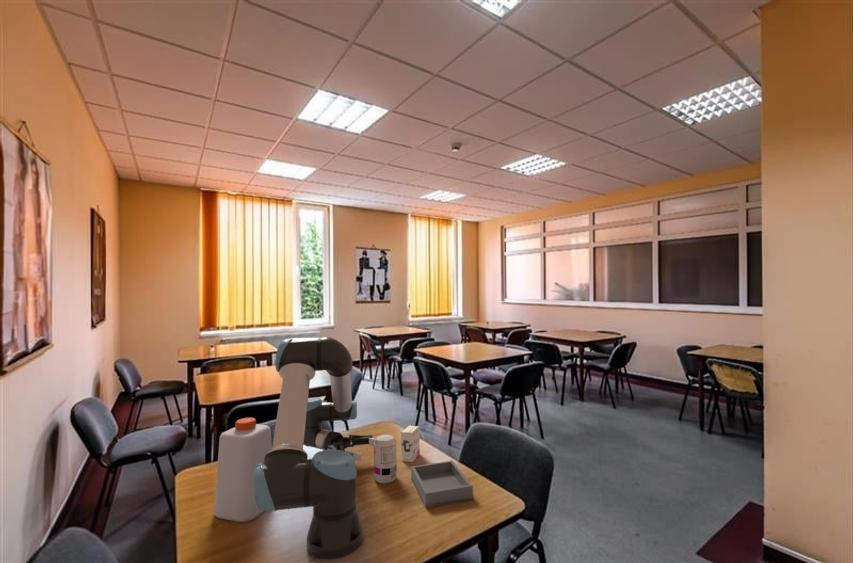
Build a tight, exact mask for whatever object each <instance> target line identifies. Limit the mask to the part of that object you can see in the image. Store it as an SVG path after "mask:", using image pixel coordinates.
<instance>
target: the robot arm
mask: <svg viewBox="0 0 853 563" xmlns="http://www.w3.org/2000/svg"><path fill="white" fill-rule="evenodd" d="M274 363H275V364H274V366H275V367H274V368H275V370H276V372H277V373H278V375H279V376H280V378H281V379H282V382H281V383H282V384H281V388H280V395H279V401H278V409H277V414H276V420H275V428H274V431H273V438H272V449H271V450H270V451H269V452H268V453H266V455H265V458H264V463H260V464H258V465H257V466H256V469H255V473H254V496H255V502H256V505H257V507H258V509H259V510H261V511H263V512H268V511H270V512H272V511H274V512H277V511H281V510H292V509H299V508H309V507H311V508H312V507H313V508H312V510H313V511H312V513H313V514H312V518H311V522H310V524H309V528H308V531H307V535H306V548H307V551H308V553H309V554H311V555H312V556H313V557H315V558H316V557H317V558H319V559H325V560H327V559H337V558H341V557H344V556H347V555H349V554H351V553H352V552H355V550H357V549H358V548H359V547H360V545H361V544H362V543H363V540H364V526H363V524H362V520H361V517H360V514H359V512H358V509H357V475H358V474H357V473H358V472H357V467H356V461H357V462H359V463H360V462H362V453H361V452H358V451H357V452H356V451H353V450H349V449H347V448H353V447H355V446H362V445H363V446H364V445H368V446H371V447H374V441H375V438H374V436H373V435H372V434H349V435H348V437H347V436H343V434H342V433H341V432H338V431H333V430H328V429H324V428H322V427H323V422H324V423H325V422H337V421H349V420H356V418H357V417H358V403H357V401H356V400H352V399H353V398H352V382H351V380H352V379H351V378H352V377H351V372H352V370H353V367H354V366H353V358H352V355H351V353H350V350H348V348H347V347H346V346H345V345H344V344H343V343H342V342H341V341H339V340H338V339H335V338H332V337H328V336H321V337H319V336H317V337H315V336H314V337H292V338H291V337H290V338H286V339H285V338H284V339H282V340H281V341H280V342H279V343H278V346H277V350H276V354H275V361H274ZM321 371H326V372H327V373H328V375H329V379H330V381H329V382H330V386H331V387H330V388H331V396H332V402H329V401H328V402H323V401H322V398H320V397H316V396H315V397H309V393H310V392H309V391H310V383H311V380H313V379H314V378H315V377H316V372H321ZM304 446H305V447H310V448H315V449H318V450H319V449H320V451H317V452H316V453H315V454H313V456H312V458H311V459H308V456H309V455H308V453H307V452H306V451H305V449H304ZM346 449H347V450H346Z"/></svg>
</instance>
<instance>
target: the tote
mask: <svg viewBox="0 0 853 563" xmlns="http://www.w3.org/2000/svg"><path fill="white" fill-rule="evenodd" d="M410 474H411V475H410V476H411V481H412V483H413V484H414V487H415V489H416V491H417V493H418V495H419V497H420V500H421V502H422V504H423V506H424V508H425V509H429V508H433V507H440V506H447V505H452V504H457V503H462V502H469V501H474V488H473V487H474V486H473V484H472V483H471V482H470V480H469V479H468V478H467V477H466V476H465V474H464V473H463V472H462V471H461V469H460V468H459V467H458V465H457V464H456V463H455V462H454V461H453V460H448V461H447V460H446V461H441V462H433V463H426V464H420V465H412V466H411V467H410Z"/></svg>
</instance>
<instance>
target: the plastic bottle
mask: <svg viewBox="0 0 853 563" xmlns="http://www.w3.org/2000/svg"><path fill="white" fill-rule="evenodd" d="M234 424H235V425H234V426H235V427H231V428H230V429H228V430H226V431H224V432H222V433H221V434H220V436H219V441H218V454H217V455H218V456H217V469H216V470H217V471H216V480H215V481H216V484H215V494H214V495H215V497H214V509H213V513H214V515H215V517H216V518H219V519H222V520H227V521H232V522H238V523H244V522H249V521H251V520H254V519H255V518H257V517H258V516H260V515H261V514H262V513H264V511H261V510H259V509H258V507H257V505H256V502H255V496H254V473H255V469H256V466H257V465H258V464H260V463H264V458H265V455H266V453H268V452H269V451H270V450H271V449H272V445H273V440H272V432H271V431H272V430H271V427H270V426H269V425H267V424H259V423H257V420H256V418H254V417H244V418H240V419H238V420H236V421H235V423H234Z"/></svg>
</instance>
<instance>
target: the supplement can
mask: <svg viewBox="0 0 853 563" xmlns="http://www.w3.org/2000/svg"><path fill="white" fill-rule="evenodd" d="M374 439H375V441H374V446H373V472H374V473H373V475H374V476H373V478H374V480H375V481H376V482H377V483H378V484H390V483H392V482H394V481H395V480H396V479H397V477H398V476H397V475H398V474H397V472H398V471H397V470H398V469H397V440H396V438H395V435H393V434H391V433H382V434H379V435H376V436H375V438H374Z"/></svg>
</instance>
